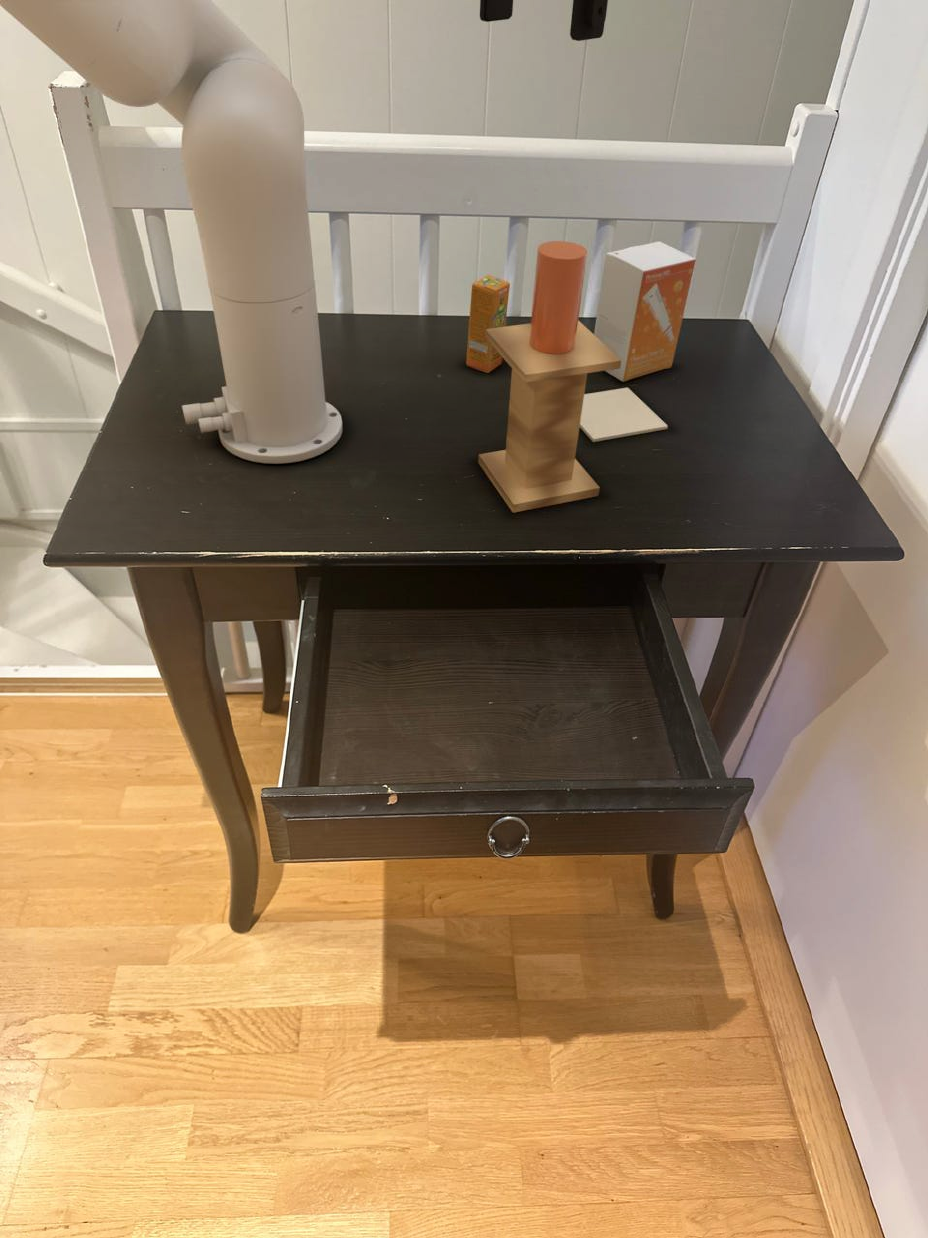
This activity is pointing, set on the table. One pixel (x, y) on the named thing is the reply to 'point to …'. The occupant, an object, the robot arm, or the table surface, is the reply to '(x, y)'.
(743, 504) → the table surface
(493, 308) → the supplement box
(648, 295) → the small box
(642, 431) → the cream coaster
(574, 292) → the orange cylinder
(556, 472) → the birch stand
